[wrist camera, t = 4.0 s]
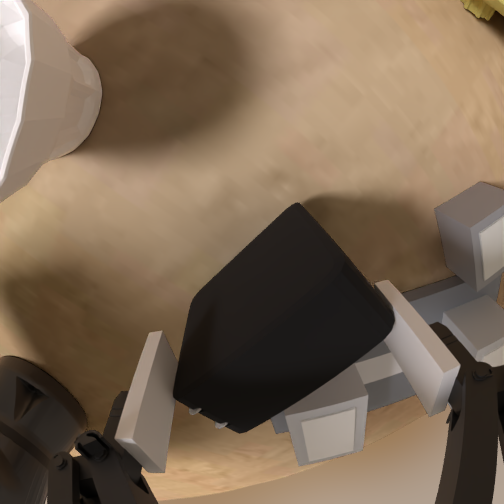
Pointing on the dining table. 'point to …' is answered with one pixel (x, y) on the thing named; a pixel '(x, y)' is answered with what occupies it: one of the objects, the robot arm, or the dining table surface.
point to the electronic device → (276, 325)
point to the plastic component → (484, 7)
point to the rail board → (390, 372)
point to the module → (474, 234)
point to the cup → (40, 94)
